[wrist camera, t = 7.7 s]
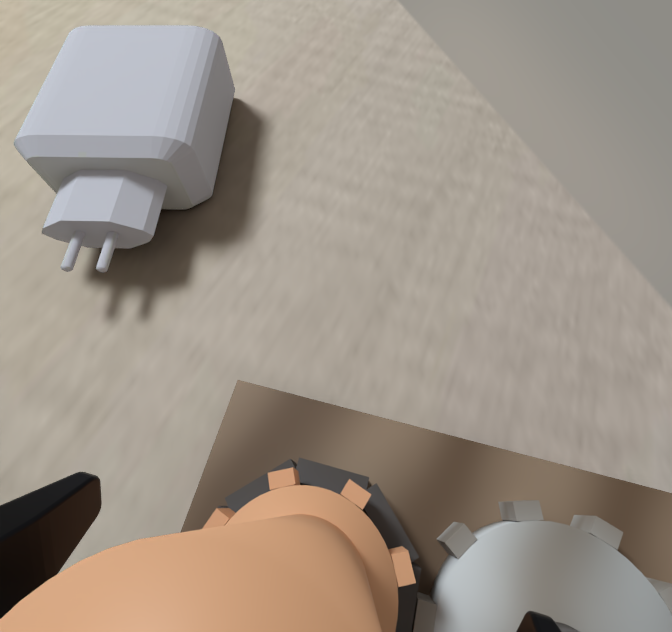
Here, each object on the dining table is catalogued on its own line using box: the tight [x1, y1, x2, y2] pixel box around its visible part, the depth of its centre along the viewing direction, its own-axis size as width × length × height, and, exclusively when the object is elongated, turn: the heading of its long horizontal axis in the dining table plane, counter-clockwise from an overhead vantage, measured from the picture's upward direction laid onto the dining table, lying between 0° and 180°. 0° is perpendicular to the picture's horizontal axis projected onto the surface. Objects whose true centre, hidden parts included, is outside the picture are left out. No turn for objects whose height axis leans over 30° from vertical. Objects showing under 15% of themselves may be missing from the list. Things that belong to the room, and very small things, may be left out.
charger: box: [14, 25, 235, 272], centre depth 23 cm, size 5×9×15 cm
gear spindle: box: [0, 467, 416, 632], centre depth 9 cm, size 7×7×13 cm
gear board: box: [181, 380, 672, 632], centre depth 13 cm, size 18×12×5 cm, turn 75°
